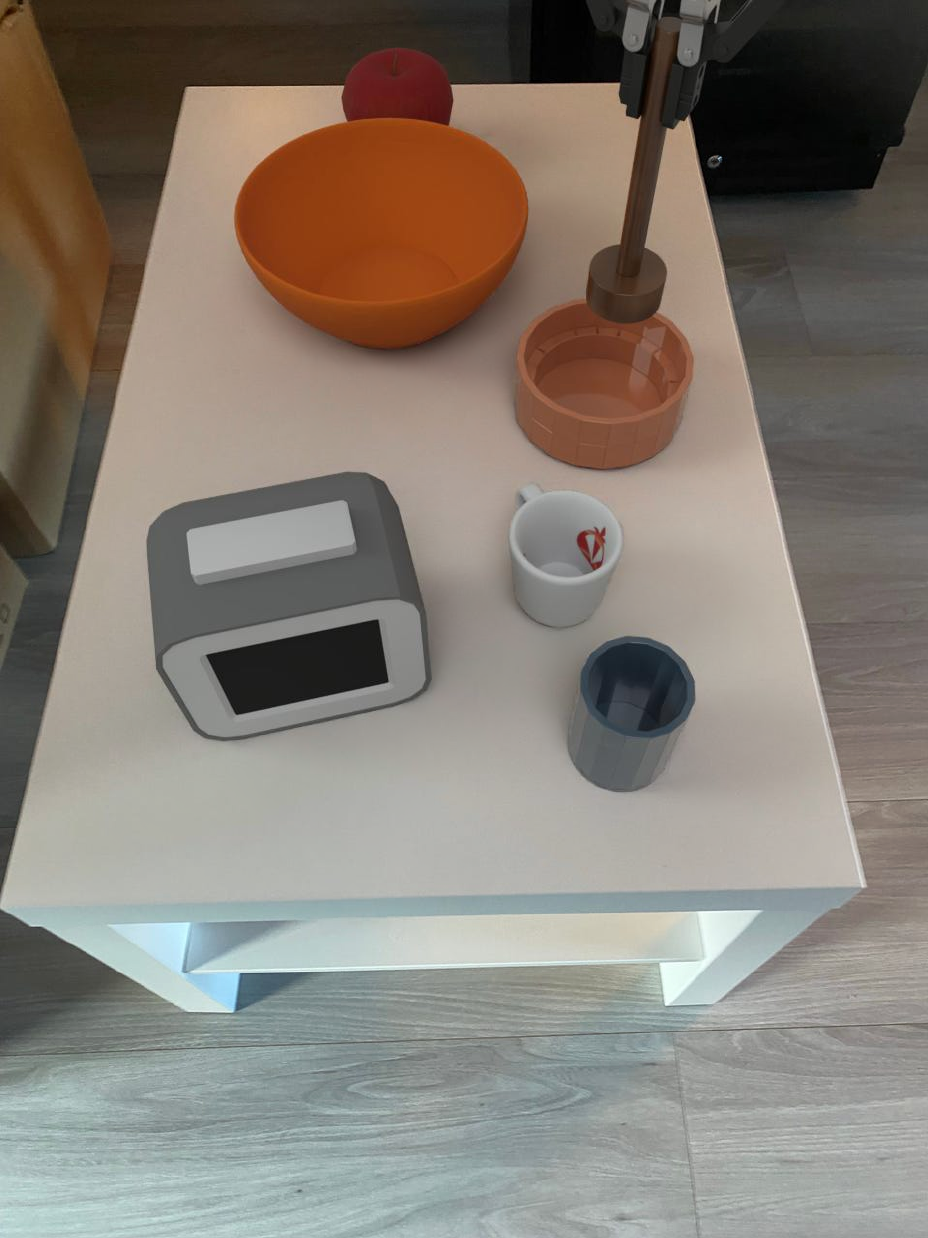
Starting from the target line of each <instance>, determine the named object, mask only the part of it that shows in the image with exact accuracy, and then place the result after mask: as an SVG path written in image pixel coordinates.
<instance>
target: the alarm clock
mask: <svg viewBox="0 0 928 1238" xmlns="http://www.w3.org/2000/svg"><path fill="white" fill-rule="evenodd" d="M145 543H146V562H147V573H148V586H149V597H150V611H151V622H152V634H153V636H152V637H153V646H154V647H153V648H154V659H155V670H156V672H157V673H158V675H159V677H160V678H161V680H162V681H163V683H164V685H165V686H166V688H167V690H168V691H169V693H170V695H171V696H172V698H173V700H174V701H175V703H176V704H177V706H178V708H179V710H180V711H181V712H182V715H183V716H184V718H185V719H186V721H187V723H188V724H189V726H190V728H191V729H192V731H193V732H195V733H196V734H197V735H199V736H200V737H202V738H203V739H207V740H213V741H221V742H228V741H238V740H247V739H251V738H255V737H260V736H265V735H270V734H275V733H279V732H283V731H288V730H292V729H293V730H294V729H296V728H303V727H305V726H306V727H307V726H310V725H311V726H312V725H315V724H320V723H324V722H329V721H334V720H338V719H343V718H347V717H351V716H356V715H361V714H366V713H370V712H374V711H375V712H376V711H379V710H384V709H388V708H393V707H396V706H399V705H402V704H405V703H408V702H411V701H414V700H415V699H417V698H418V697H419V696H420V695H422V694H423V693H425V692H427V690H428V688H429V686H430V684H431V681H432V669H431V655H430V645H429V634H428V621H427V611H426V607H425V604H424V600H423V595H422V591H421V588H420V584H419V580H418V577H417V576H418V575H417V572H416V569H415V564H414V561H413V558H412V552H411V549H410V545H409V540H408V537H407V534H406V530H405V526H404V522H403V518H402V514H401V509H400V506H399V504H398V503H397V501H396V499H395V498H394V496H393V494H392V493H391V490H390V489H389V487H388V485H387V483H386V482H385V480H382V479H380V478H379V477H376V476H374V475H372V474H370V473H368V472H365V471H363V472H361V471H342V472H337V473H332V474H327V475H322V476H316V477H311V478H305V479H301V480H295V481H290V482H285V483H279V484H274V485H268V486H264V487H257V488H253V489H247V490H242V491H237V492H231V493H227V494H226V493H225V494H221V495H215V496H210V497H206V498H200V499H194V500H189V501H184V502H181V503H178V504H177V505H174V506H172V507H169V508H167V509H165V510H163V511H162V512H161V513H160V514H159V515H158V516H157V517H156V519H155V520H154V521H153V522H152V523H150V525H149V527H148V531H147V536H146V541H145Z"/></svg>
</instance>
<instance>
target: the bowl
mask: <svg viewBox="0 0 928 1238" xmlns="http://www.w3.org/2000/svg"><path fill="white" fill-rule="evenodd" d="M529 209H530V208H529V198H528V193H527V190H526V186H525V184H524V182H523V179H522V177H521V176H520V174H519V172H518V170H517V169H516V168H515V167H514V165H513V164H512V163H511V162H510V160H509V159H508V158H506V156H505V155H503V153H501V152H500V151H499V150H497V148H495V147H493V146H492V145H491V144H489V143H488V142H486V141H485V140H483V139H481V138H479V137H478V136H475V135H473V134H471V133H469V132H466V131H464V130H462V129H459V128H455V127H453V126H450V125H449V126H447V125H443V124H438V123H434V122H429V121H423V120H416V119H405V118H374V119H362V120H355V121H349V122H347V121H345V122H339V123H335V124H332V125H328V126H324V127H321V128H318V129H315V130H313V131H310V132H307V133H305V134H302V135H299V136H298V137H296V138H294V139H292V140H289V141H288V142H287V143H285V144H283V145H281V146H279V147H278V148H277V149H276V150H273V152H271V153H270V154H269V155H267V156H266V157H265V158H264V159H263V160H262V161H260V163H258V165H256V166H255V167H254V168H253V170H252V171H251V172H250V173H249V175H248V176H247V178H246V179H245V180H244V183H243V184H242V186H241V188H240V190H239V192H238V195H237V198H236V202H235V204H234V212H233V213H234V214H233V223H234V224H233V225H234V230H235V231H234V232H235V236H236V239H237V243H238V245H239V247H240V250H241V252H242V255H243V257H244V260H245V261H246V263H247V265H248V266H249V268H250V269H251V270H252V273H253V274H254V276H255V277H256V278H257V280H258V282H259V283H260V284H261V285H262V286H263V287H264V289H265V290H266V291H267V292H268V294H270V295H271V296H272V297H273V298H274V300H276V301H277V302H278V303H279V304H280V305H281V306H282V307H283V308H284V309H286V310H287V311H288V312H290V313H291V314H292V315H294V316H295V317H296V318H298V319H299V320H300V321H303V322H304V323H306V324H307V325H309V326H311V327H313V328H315V329H317V330H319V331H321V332H322V333H325V334H328V335H330V336H332V337H335V338H338V339H340V340H344V341H346V342H349V343H351V344H354V345H357V346H360V347H364V348H369V349H377V350H378V349H379V350H393V349H394V350H395V349H396V350H397V349H403V348H409V347H413V346H416V345H419V344H423V343H425V342H428V341H430V340H432V339H434V338H436V337H437V336H439V335H441V334H442V333H443V332H446V331H448V330H450V329H452V328H453V327H455V326H456V325H458V324H460V323H461V322H463V321H464V320H465V319H467V318H468V317H470V316H471V315H472V314H474V313H475V312H476V311H477V310H478V309H479V308H480V307H481V306H483V304H484V303H486V302H487V300H489V299H490V298H491V297H492V295H493V294H494V293H495V292H496V291H497V290H498V288H499V287H500V285H501V284H502V283H503V282H504V280H505V278H506V277H507V276H508V274H509V272H510V271H511V269H512V267H513V265H514V263H515V262H516V259H517V257H518V255H519V252H520V250H521V248H522V245H523V242H524V239H525V235H526V232H527V227H528V221H529Z"/></svg>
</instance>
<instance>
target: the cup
mask: <svg viewBox="0 0 928 1238" xmlns="http://www.w3.org/2000/svg"><path fill="white" fill-rule="evenodd" d="M515 507H516V512H515V514H514V515H513V517H512V518H511V521H510V524H509V528H508V540H507V541H508V548H509V557H510V565H511V573H512V582H513V589H514V593H515V596H516V597H515V598H516V599H517V602H518V603H519V604H518V605H519V606H520V607H521V609H522V610H523V612H525V614H526V615H528V617H530V618H531V619H532V620H534V621H536V622H538V623H540V624H542V625H544V626H549V627H553V628H555V627H556V628H566V627H572V626H575V625H578V624H580V623H582V622H584V621H586V620H587V619H588V618H590V617H591V616H592V615H593V614H594V613H595V612H596V611H597V610H598V608H599V607H600V606H601V603H602V602H603V600H604V597H605V595H606V592H607V590H608V588H609V585H610V583H611V580H612V578H613V576H614V574H615V571H616V569H617V566H618V564H619V561H620V559H621V557H622V554H623V550H624V546H625V545H624V544H625V537H624V536H625V535H624V530H623V527H622V524H621V521H620V520H619V518H618V516H617V515H616V514H615V512H614V511H613V510H612V509H611V507H609V506H608V505H607V504H606V503H604V502H603V501H602V500H600V499H599V498H596V497H595V496H593V495H590V494H588V493H585V492H581V491H578V490H570V489H569V490H568V489H558V490H551V491H546V492H544V490H543V489H542V488H541V487H540V485H538V484H537V483H536V482H528V483H525V484H522V485H520V486H518V488H517V489H516V494H515Z"/></svg>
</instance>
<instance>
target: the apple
mask: <svg viewBox="0 0 928 1238" xmlns="http://www.w3.org/2000/svg"><path fill="white" fill-rule="evenodd" d="M451 84H452V83H451V81H450V78H449V76H448V73H447V71H446V67H444V66H443V65H442V64H441V63H440V62H439V61H438V60H437V59H436V58H434V57H432V56H430V55H429V54H427V53H425V52H424V51H420V50H417V49H413V48H406V47H392V48H384V49H381V50H377V51H373V52H371V53H369V54H367V55H366V56H364V57H362V58H361V59H360V60H359V61H357V63H356V64H354V65H353V66H352V67H351V69H350V71H349V73H348V74H347V76H346V78H345V81H344V85H343V89H342V93H341V98H340V99H341V105H342V109H343V110H342V111H343V113H344V116H345V119H346V122H349V121H355V120H362V119H374V118H405V119H416V120H423V121H429V122H434V123H438V124H443V125H447V126H450V122H451V118H452V117H451V116H452V112H453V106H454V93H453V88H452V85H451Z"/></svg>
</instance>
